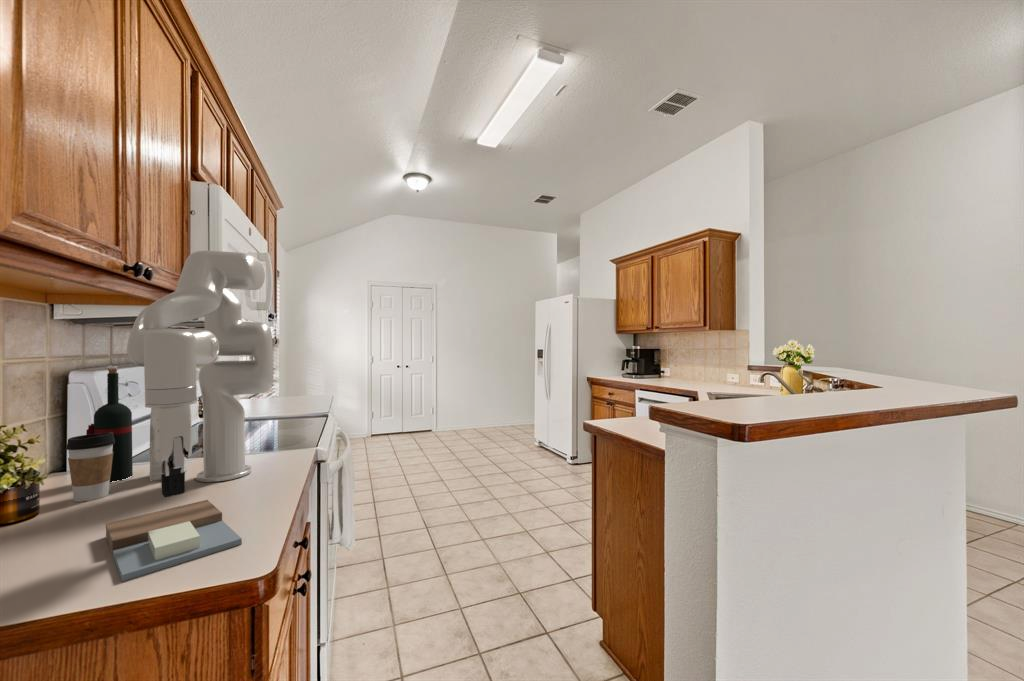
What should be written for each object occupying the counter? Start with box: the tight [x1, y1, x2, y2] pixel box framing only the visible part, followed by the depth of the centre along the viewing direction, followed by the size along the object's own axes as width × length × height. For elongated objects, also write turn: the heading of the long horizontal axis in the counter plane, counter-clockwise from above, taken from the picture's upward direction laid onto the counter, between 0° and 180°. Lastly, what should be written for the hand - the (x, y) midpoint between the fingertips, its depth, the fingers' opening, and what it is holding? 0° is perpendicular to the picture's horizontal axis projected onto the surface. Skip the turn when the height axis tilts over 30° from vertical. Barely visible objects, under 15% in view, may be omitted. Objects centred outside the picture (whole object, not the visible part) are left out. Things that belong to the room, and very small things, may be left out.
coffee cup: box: [65, 432, 115, 503], centre depth 102 cm, size 8×8×15 cm
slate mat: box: [112, 520, 243, 583], centre depth 75 cm, size 12×16×1 cm
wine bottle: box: [85, 368, 134, 482], centre depth 115 cm, size 8×10×30 cm
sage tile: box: [148, 521, 200, 560], centre depth 75 cm, size 9×6×2 cm, turn 46°
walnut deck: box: [105, 499, 223, 556], centre depth 83 cm, size 11×16×2 cm
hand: (173, 494), depth 80 cm, fingers closed
